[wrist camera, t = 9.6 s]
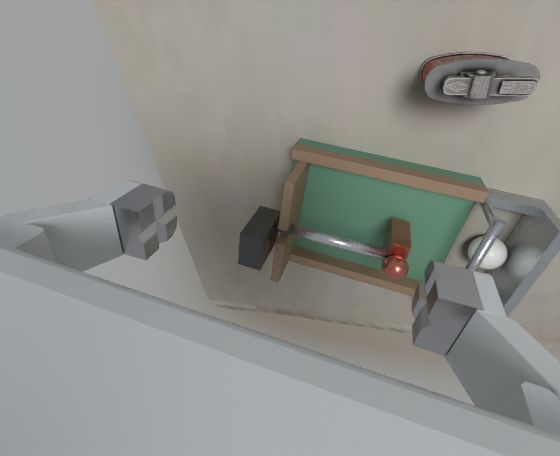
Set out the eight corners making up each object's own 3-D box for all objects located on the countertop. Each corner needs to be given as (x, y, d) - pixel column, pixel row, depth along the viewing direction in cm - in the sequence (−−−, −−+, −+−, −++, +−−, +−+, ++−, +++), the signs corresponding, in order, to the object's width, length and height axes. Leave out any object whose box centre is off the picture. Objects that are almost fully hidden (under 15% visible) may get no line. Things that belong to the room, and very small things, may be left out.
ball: (521, 252, 36) (485, 247, 36) (503, 278, 38) (469, 273, 38) (503, 231, 39) (471, 227, 39) (488, 257, 41) (456, 252, 41)
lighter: (416, 89, 34) (422, 110, 26) (422, 52, 32) (432, 62, 24) (504, 90, 32) (542, 113, 23) (517, 50, 30) (562, 61, 22)
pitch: (480, 177, 36) (504, 222, 28) (427, 281, 45) (434, 337, 37) (300, 138, 40) (276, 168, 32) (284, 241, 49) (262, 284, 41)
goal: (543, 200, 36) (579, 243, 29) (483, 290, 43) (500, 341, 37) (476, 185, 37) (495, 223, 30) (429, 275, 45) (436, 321, 38)
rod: (412, 222, 38) (417, 283, 29) (400, 249, 40) (402, 312, 32) (273, 188, 41) (240, 233, 32) (270, 214, 44) (238, 263, 35)
